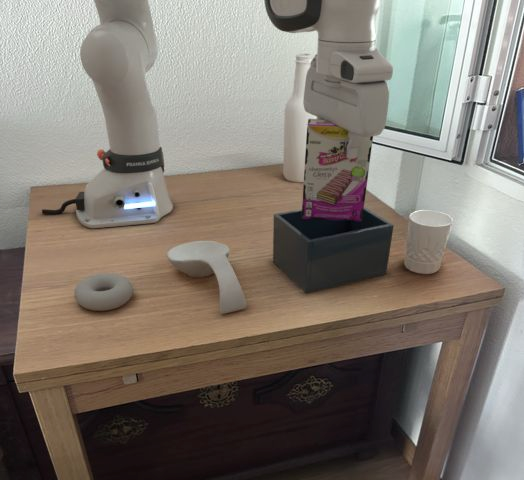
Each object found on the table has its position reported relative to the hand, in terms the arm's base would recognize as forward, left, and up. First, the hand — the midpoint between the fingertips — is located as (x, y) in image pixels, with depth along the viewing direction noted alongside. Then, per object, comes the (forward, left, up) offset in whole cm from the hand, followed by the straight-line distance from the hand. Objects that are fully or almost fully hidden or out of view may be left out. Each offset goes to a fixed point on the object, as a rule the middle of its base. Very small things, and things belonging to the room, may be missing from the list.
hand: (337, 151), depth 93 cm
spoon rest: (-23, +4, -22) cm, 32 cm away
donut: (-42, +6, -22) cm, 48 cm away
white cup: (+17, -7, -22) cm, 29 cm away
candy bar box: (0, 0, -12) cm, 12 cm away
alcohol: (+20, +50, -22) cm, 58 cm away
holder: (0, 0, -22) cm, 22 cm away
